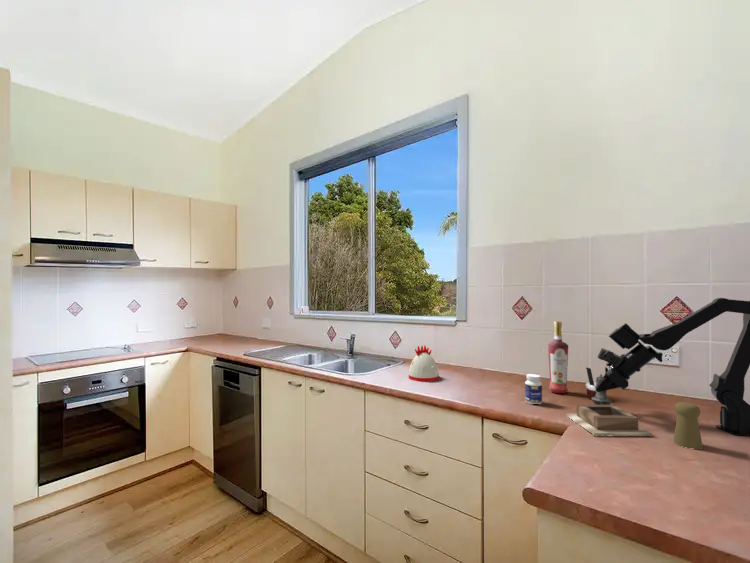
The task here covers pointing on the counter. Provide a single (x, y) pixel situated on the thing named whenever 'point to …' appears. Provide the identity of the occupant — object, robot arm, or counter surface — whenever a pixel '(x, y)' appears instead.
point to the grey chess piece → (601, 394)
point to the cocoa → (590, 384)
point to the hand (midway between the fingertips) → (596, 389)
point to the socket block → (607, 421)
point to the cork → (687, 426)
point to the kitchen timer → (423, 366)
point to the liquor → (558, 362)
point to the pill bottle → (533, 389)
